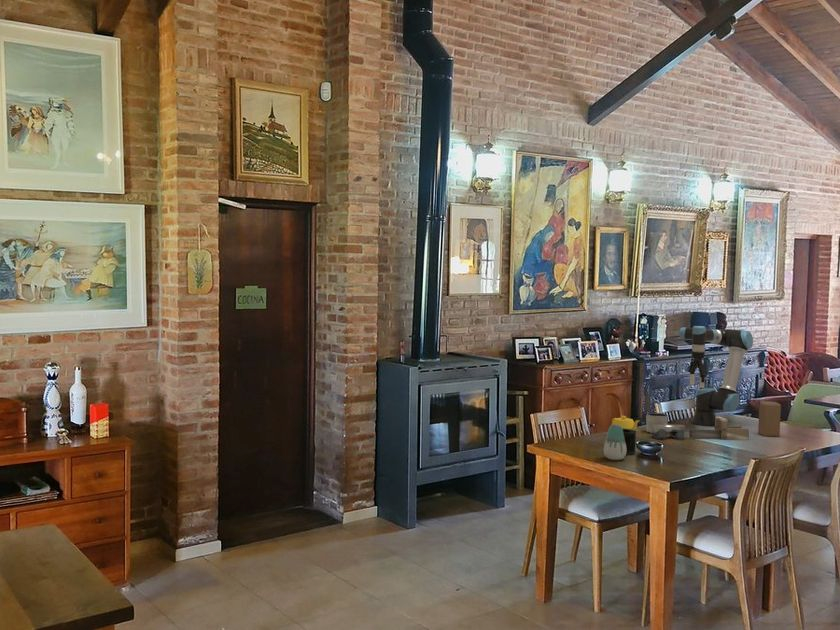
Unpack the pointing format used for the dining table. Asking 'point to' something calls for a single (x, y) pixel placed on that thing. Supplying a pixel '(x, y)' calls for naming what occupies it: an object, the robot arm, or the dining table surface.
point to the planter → (655, 420)
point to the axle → (668, 428)
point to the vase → (615, 443)
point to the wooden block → (769, 418)
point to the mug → (630, 440)
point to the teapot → (625, 423)
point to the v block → (662, 434)
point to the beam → (721, 432)
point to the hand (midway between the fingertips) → (696, 386)
